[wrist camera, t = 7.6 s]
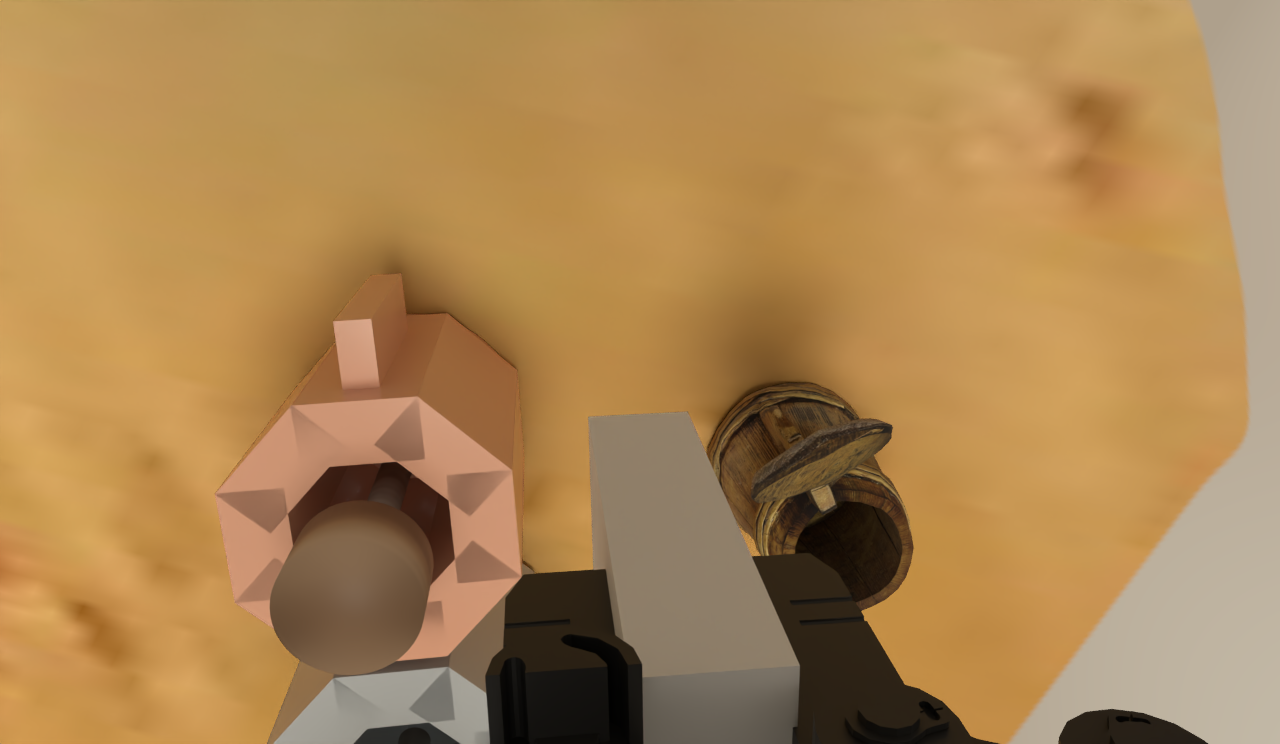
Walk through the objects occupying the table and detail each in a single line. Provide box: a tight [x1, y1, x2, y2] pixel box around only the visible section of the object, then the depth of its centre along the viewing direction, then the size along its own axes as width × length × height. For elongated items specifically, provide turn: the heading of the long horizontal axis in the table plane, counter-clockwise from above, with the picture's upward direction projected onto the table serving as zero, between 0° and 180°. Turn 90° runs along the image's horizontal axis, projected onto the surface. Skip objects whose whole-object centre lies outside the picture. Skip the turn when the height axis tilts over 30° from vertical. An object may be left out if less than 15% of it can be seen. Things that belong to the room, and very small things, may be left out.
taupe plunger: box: [270, 462, 434, 675], centre depth 40 cm, size 5×5×16 cm
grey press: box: [267, 563, 534, 744], centre depth 48 cm, size 14×11×14 cm
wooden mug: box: [708, 383, 913, 611], centre depth 45 cm, size 9×14×18 cm, turn 24°
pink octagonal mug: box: [215, 273, 524, 661], centre depth 44 cm, size 14×11×14 cm
